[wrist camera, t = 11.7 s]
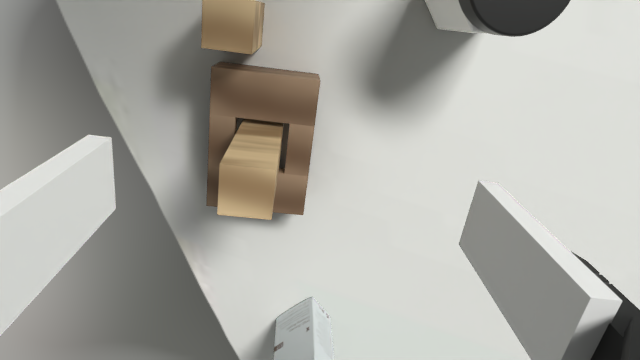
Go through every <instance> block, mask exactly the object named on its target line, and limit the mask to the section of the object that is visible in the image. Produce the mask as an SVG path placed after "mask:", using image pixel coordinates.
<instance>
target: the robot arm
mask: <svg viewBox="0 0 640 360" xmlns="http://www.w3.org/2000/svg"><path fill="white" fill-rule="evenodd" d="M115 209H116V204H115V187H114V170H113V154H112V138H111V137H103V136H95V135H87V136H86V137H84V138H83V139H81V140H79V141H78V142H76V143H75V144H73V145H71V146H70V147H68V148H67V149H65V150H63V151H62V152H60V153H59V154H57V155H55V156H54V157H52V158H51V159H49V160H47V161H46V162H44V163H43V164H41V165H39V166H38V167H36V168H34V169H33V170H31V171H30V172H28V173H26V174H25V175H23V176H22V177H20V178H18V179H17V180H15V181H14V182H12V183H10V184H9V185H7V186H6V187H4V188H2V189H1V190H0V336H1V335H2V334H3V333H4V332H5V330H6V329H7V328H8V327H9V326H10V325H11V324H12V323H13V322H14V321H15V319H16V318H17V317H18V316H19V315H20V314H21V313H22V312H23V310H25V308H26V307H27V306H28V305H29V304H30V303H31V302H32V301H33V299H34V298H35V297H36V296H37V295H38V294H39V293H40V292H41V291H42V290H43V288H44V287H45V286H46V285H47V284H48V283H49V282H50V281H51V280H52V278H53V277H54V276H55V275H56V274H57V273H58V272H59V271H60V270H61V269H62V268H63V266H64V265H65V264H66V263H67V262H68V261H69V260H70V259H71V258H72V257H73V255H74V254H75V253H76V252H77V251H78V250H79V249H80V248H81V247H82V245H83V244H84V243H85V242H86V241H87V240H88V239H89V238H90V236H92V234H93V233H94V232H95V231H96V230H97V229H98V228H99V227H100V226H101V224H102V223H103V222H104V221H105V220H106V219H107V218H108V217H109V216H110V215H111V213H112V212H113V211H114V210H115ZM459 245H460V247H461V249H462V250H463V252H464V253H465V255H466V257H467V258H468V260H469V261H470V263H471V265H472V266H473V268H474V269H475V271H476V272H477V274H478V276H479V277H480V279H481V280H482V282H483V284H484V285H485V287H486V288H487V290H488V292H489V293H490V295H491V296H492V298H493V300H494V301H495V303H496V304H497V306H498V308H499V309H500V311H501V312H502V314H503V315H504V317H505V319H506V320H507V322H508V323H509V325H510V327H511V328H512V330H513V331H514V333H515V335H516V336H517V338H518V339H519V341H520V343H521V344H522V346H523V347H524V349H525V351H526V352H527V354H528V355H529V357H530V358H531V360H640V310H639V309H638V308H637V307H636V306H635V305H634V304H633V303H631V302H630V301H629V300H628V299H627V298H626V297H625V296H624V295H623V294H622V293H621V292H620V291H619V290H617V289H616V288H615V287H614V286H613V285H612V284H609V281H608V280H607V279H606V278H605V277H603V276H602V275H599V272H598V271H597V270H596V269H595V268H594V267H593V266H592V265H591V264H589V263H588V262H587V261H586V260H584V259H582V258H581V257H579V256H578V255H576V254H574V253H573V252H571V251H570V250H569V249H568V248H566V247H565V246H564V245H563V244H562V243H561V242H560V241H559V240H558V239H557V238H556V237H555V236H554V235H553V234H552V233H551V232H550V231H549V230H547V229H546V228H545V227H544V226H543V225H542V224H541V223H540V222H539V221H538V220H537V219H536V218H535V217H534V216H533V215H532V214H531V213H530V212H529V211H527V210H526V209H525V208H524V207H523V206H522V205H521V204H520V203H519V202H518V201H517V200H516V199H515V198H514V197H513V196H512V195H511V194H510V193H509V192H507V191H506V190H505V189H504V188H503V187H502V186H501V185H500V184H499V183H496V182H487V181H479V180H478V184H477V187H476V190H475V193H474V197H473V200H472V203H471V206H470V209H469V213H468V216H467V219H466V222H465V226H464V229H463V232H462V235H461V239H460V242H459Z"/></svg>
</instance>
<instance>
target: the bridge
mask: <svg viewBox="0 0 640 360" xmlns="http://www.w3.org/2000/svg"><path fill="white" fill-rule="evenodd" d="M319 87H320V78H319V75H318V74H313V73H305V72H297V71H289V70H282V69H274V68H266V67H258V66H250V65H242V64H234V63H226V62H219V63H217V64H215V65H214V66H212V67H211V91H210V120H209V148H208V177H207V206H214V207H218V188H219V165H220V162H221V160H222V158H223V157H224V155H225V153H226V151H227V149H228V147H229V145H230V144H231V142H232V140H233V138H234V136H235V134H236V129H237V118H245V119H254V120H263V121H271V122H280V123H289V124H290V125H289V134H288V144H287V153H286V163H285V169H283V168H279V169H278V177H277V184H276V191H275V198H274V205H273V212H276V213H286V214H297V215H303V212H304V204H305V196H306V188H307V181H308V173H309V165H310V157H311V149H312V141H313V134H314V126H315V118H316V110H317V102H318V94H319Z"/></svg>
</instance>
